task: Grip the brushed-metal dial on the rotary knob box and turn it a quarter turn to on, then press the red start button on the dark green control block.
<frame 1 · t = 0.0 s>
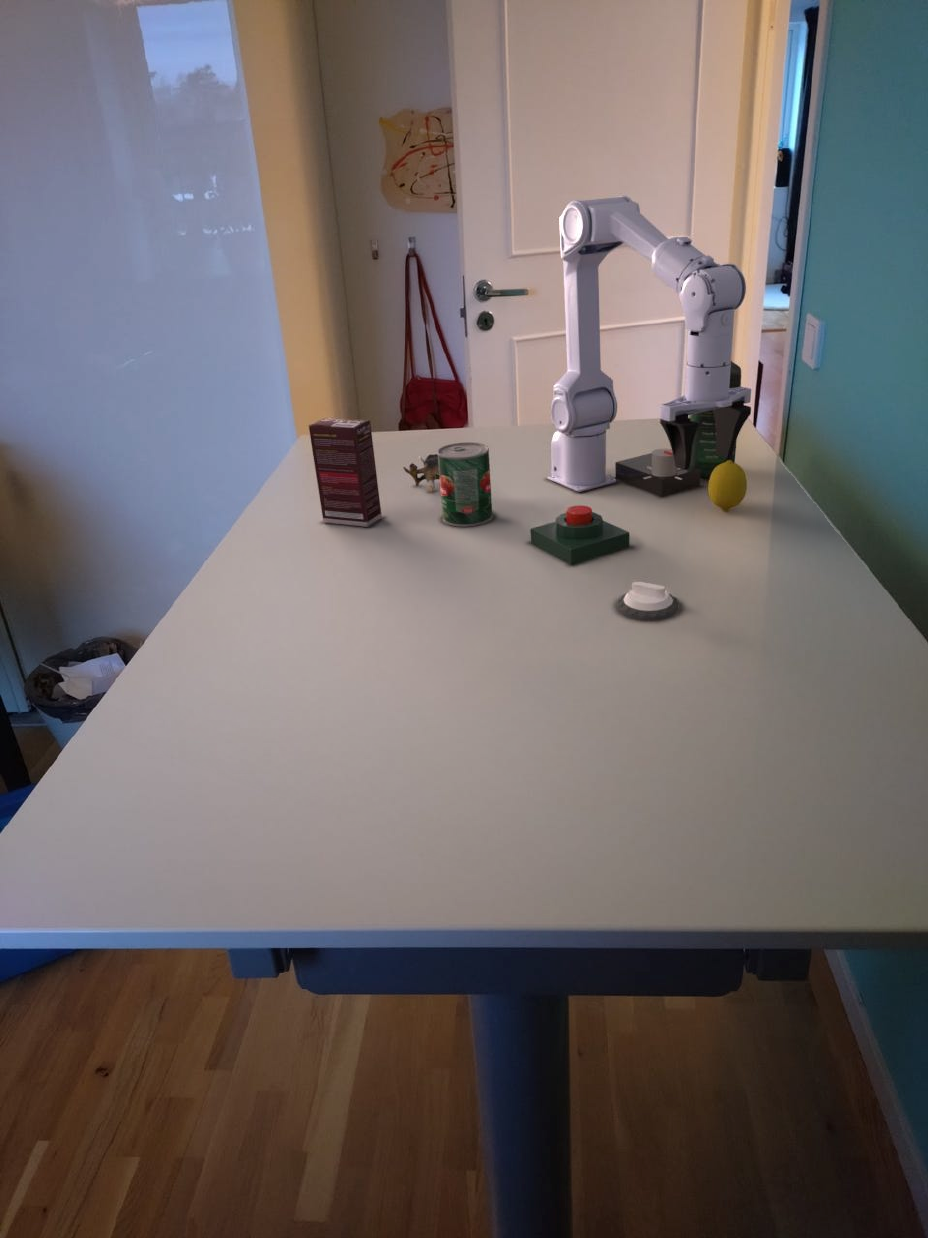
hand: (703, 462, 125), 10 cm above the table, tool pointing down, fingers open, 7 cm apart
canned tomato: (467, 518, 141), on the table
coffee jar: (710, 474, 152), on the table
stove knob: (647, 608, 109), on the table
supplement box: (352, 521, 143), on the table
rotary knob box: (656, 482, 150), on the table
lemon: (725, 512, 136), on the table
start button: (579, 515, 126), point 5 cm above the table, slide at 0.1 cm
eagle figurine: (437, 489, 155), on the table
dial: (664, 461, 143), point 5 cm above the table, hinge at 0.0°
control block: (579, 545, 128), on the table
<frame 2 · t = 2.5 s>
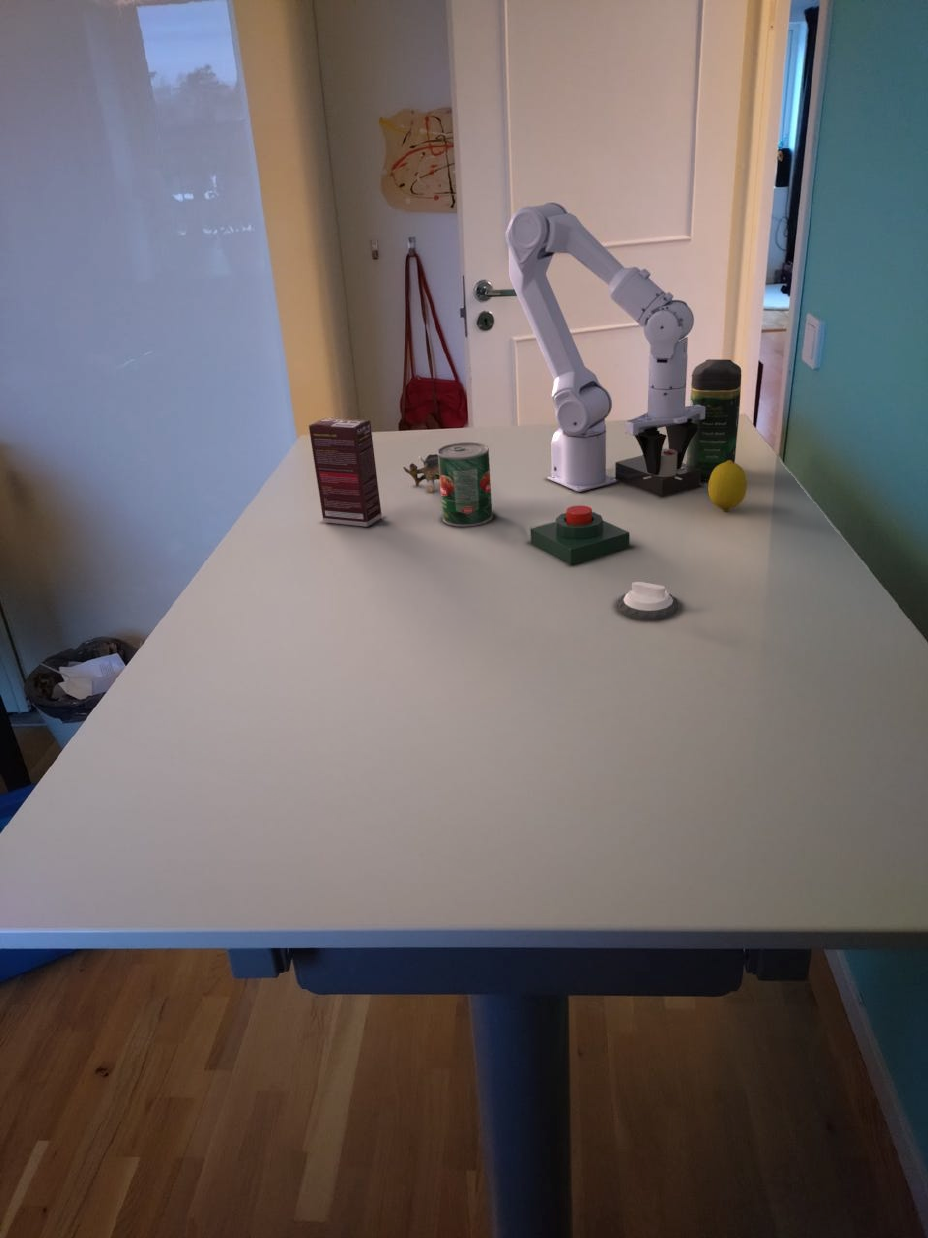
hand: (664, 470, 144), 4 cm above the table, tool pointing down, fingers closed on dial, 4 cm apart
dial: (664, 461, 143), point 5 cm above the table, hinge at -0.1°, touching gripper
everything else where it was.
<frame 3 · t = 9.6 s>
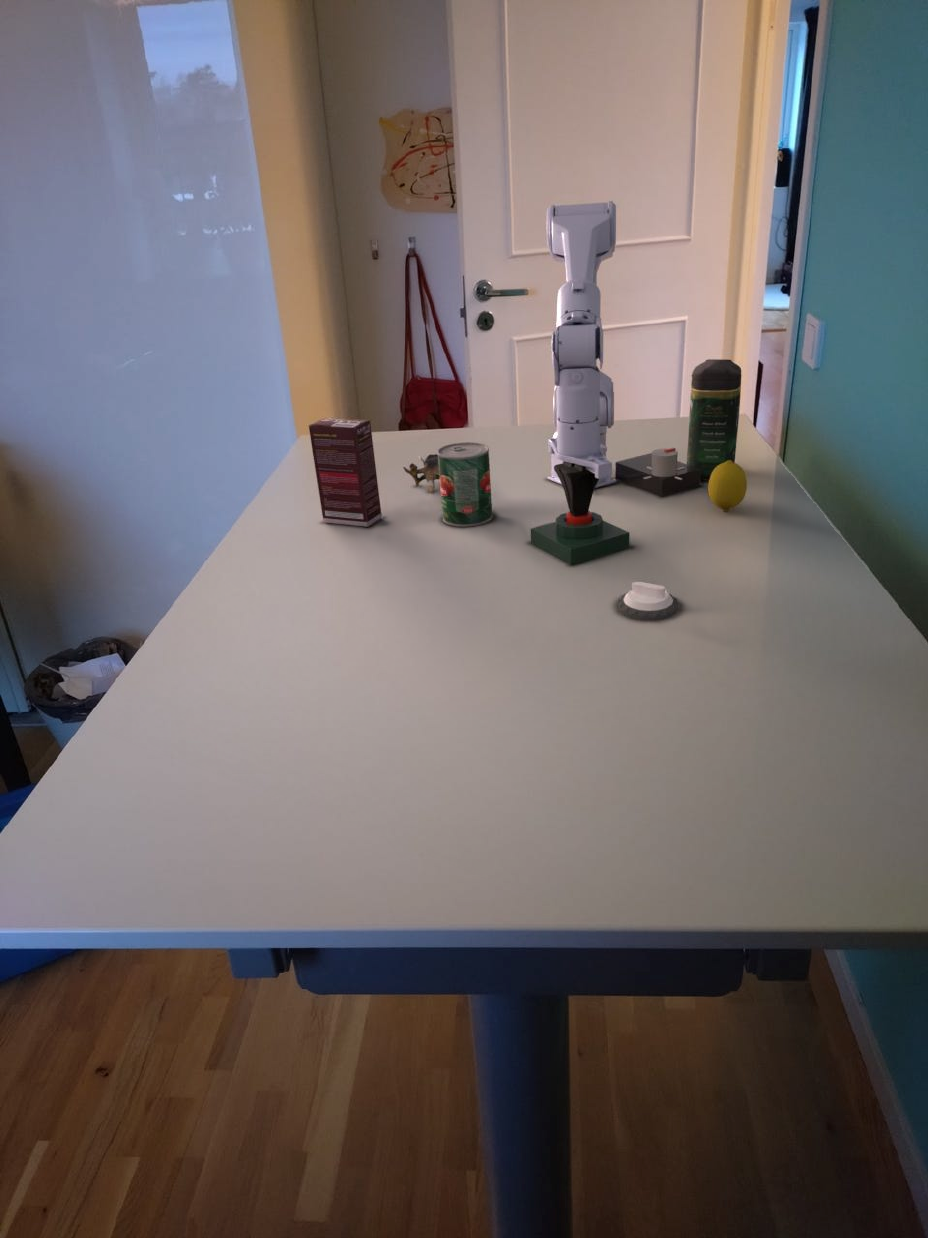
hand: (579, 514, 126), 5 cm above the table, tool pointing down, fingers closed, pressing on start button
start button: (579, 519, 126), point 4 cm above the table, slide at -0.5 cm, touching gripper
dial: (664, 461, 143), point 5 cm above the table, hinge at 89.6°
everything else where it was.
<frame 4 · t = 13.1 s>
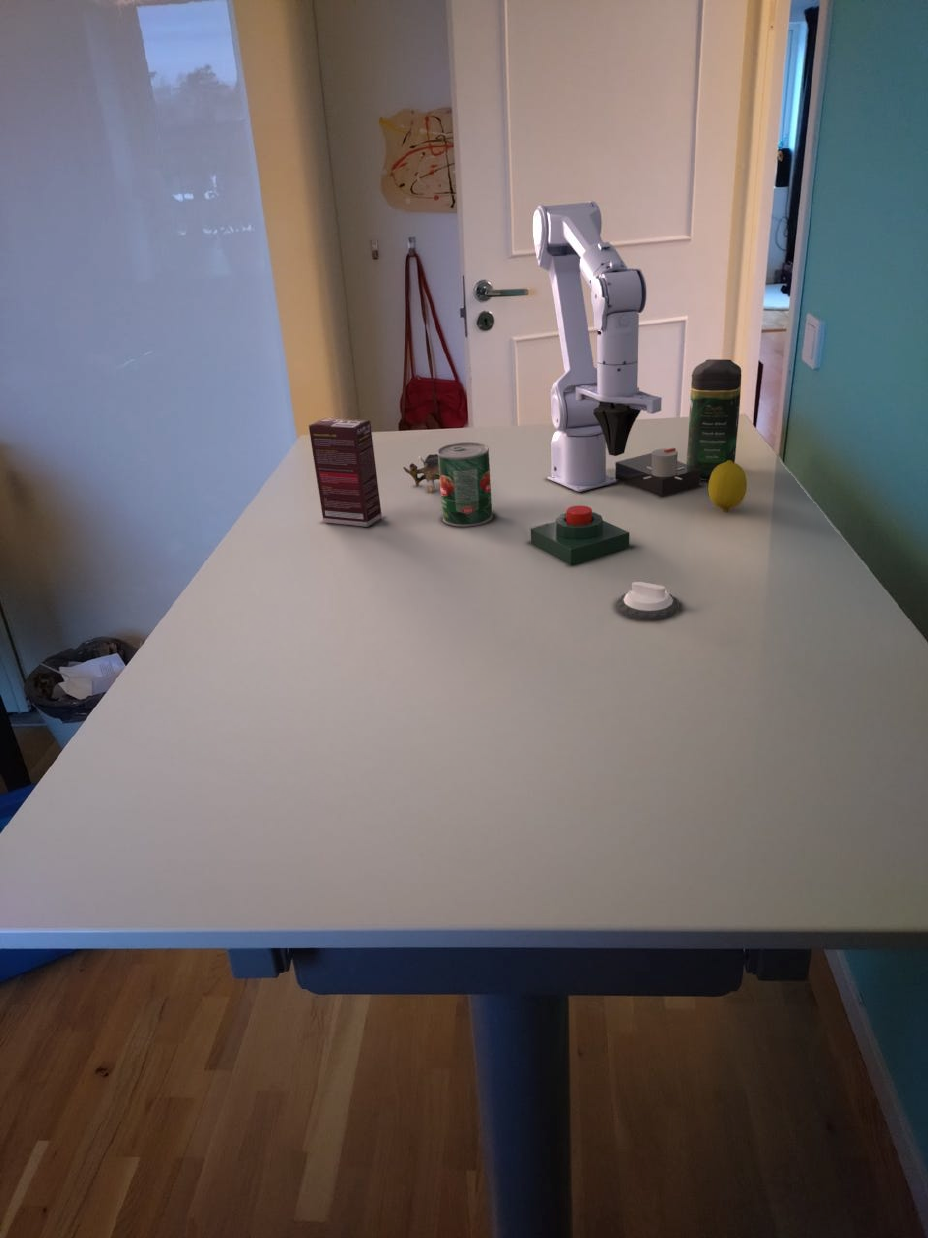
hand: (616, 453, 134), 9 cm above the table, tool pointing down, fingers closed
start button: (579, 515, 126), point 5 cm above the table, slide at 0.1 cm
everything else where it was.
at the end: dial at +90° (first picture: +0°); start button pushed in 1.1 cm at the most during the clip, back to where it started at the end; start button slide at 0.1 cm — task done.
